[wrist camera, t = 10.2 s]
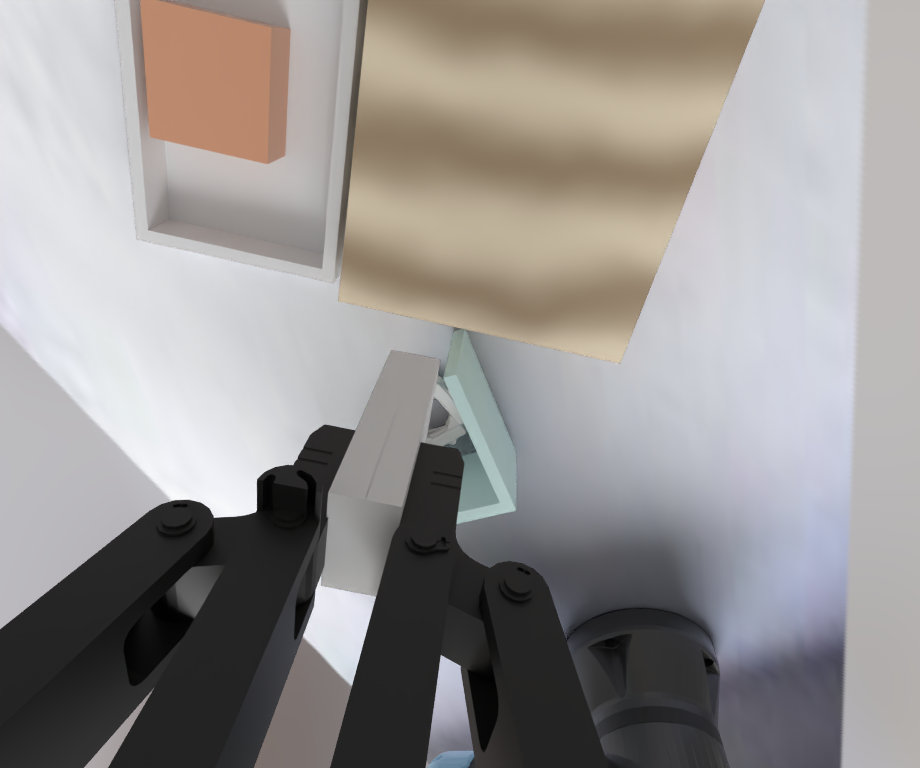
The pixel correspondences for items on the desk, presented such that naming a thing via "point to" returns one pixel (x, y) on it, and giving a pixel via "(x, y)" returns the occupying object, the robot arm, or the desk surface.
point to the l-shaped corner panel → (475, 434)
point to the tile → (216, 80)
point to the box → (249, 182)
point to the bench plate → (531, 158)
